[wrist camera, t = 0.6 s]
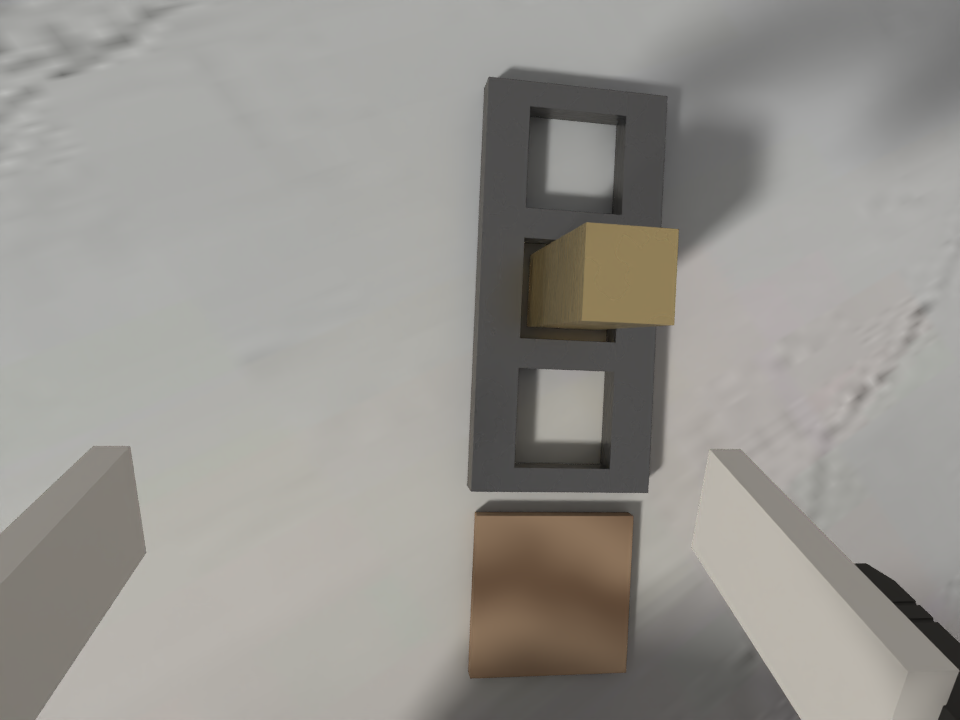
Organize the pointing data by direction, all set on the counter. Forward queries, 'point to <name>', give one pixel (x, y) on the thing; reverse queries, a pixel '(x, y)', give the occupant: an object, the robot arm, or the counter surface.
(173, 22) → the counter surface
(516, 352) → the grey flat slotted block
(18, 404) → the counter surface
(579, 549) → the walnut pad
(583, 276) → the square wooden peg
